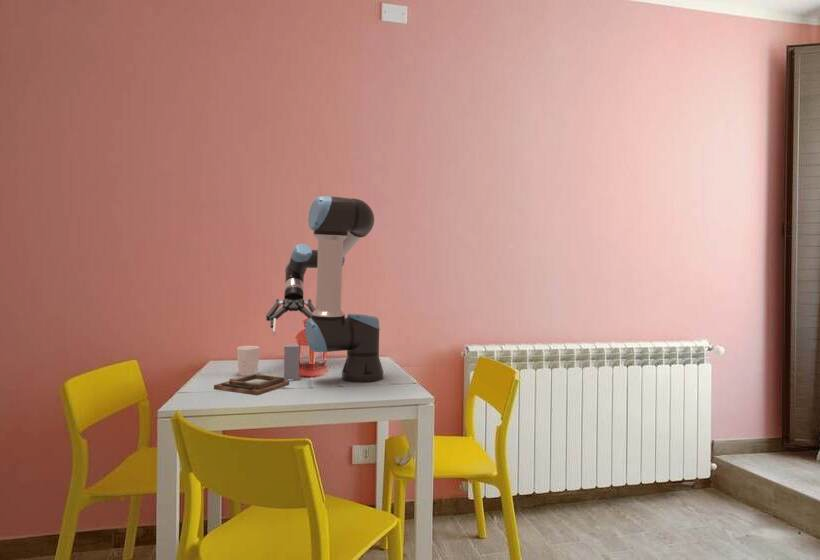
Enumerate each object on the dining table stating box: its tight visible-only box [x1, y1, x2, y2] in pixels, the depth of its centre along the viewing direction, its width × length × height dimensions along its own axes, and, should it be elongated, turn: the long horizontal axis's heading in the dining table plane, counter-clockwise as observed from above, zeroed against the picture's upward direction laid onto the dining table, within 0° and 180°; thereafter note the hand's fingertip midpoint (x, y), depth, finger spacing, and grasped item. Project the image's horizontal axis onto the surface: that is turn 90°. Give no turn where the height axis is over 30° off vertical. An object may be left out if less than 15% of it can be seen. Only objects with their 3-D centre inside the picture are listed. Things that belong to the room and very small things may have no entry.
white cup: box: [236, 345, 260, 377], centre depth 189 cm, size 8×8×10 cm
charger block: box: [283, 343, 300, 381], centre depth 182 cm, size 5×5×12 cm
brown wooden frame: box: [213, 373, 290, 396], centre depth 169 cm, size 18×16×3 cm
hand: (292, 333), depth 192 cm, fingers open, 13 cm apart
